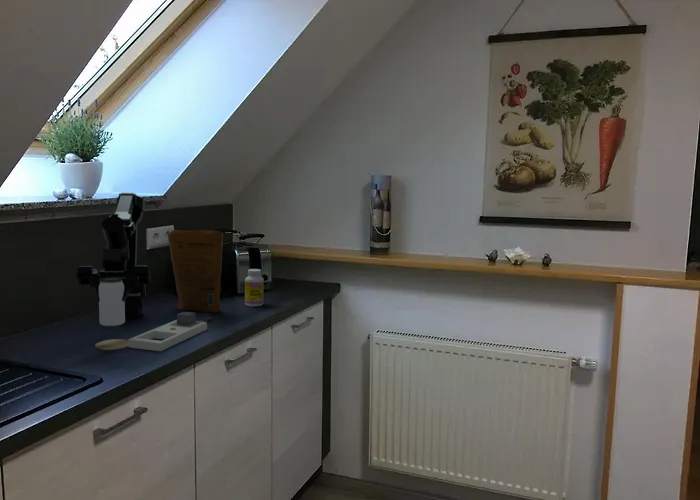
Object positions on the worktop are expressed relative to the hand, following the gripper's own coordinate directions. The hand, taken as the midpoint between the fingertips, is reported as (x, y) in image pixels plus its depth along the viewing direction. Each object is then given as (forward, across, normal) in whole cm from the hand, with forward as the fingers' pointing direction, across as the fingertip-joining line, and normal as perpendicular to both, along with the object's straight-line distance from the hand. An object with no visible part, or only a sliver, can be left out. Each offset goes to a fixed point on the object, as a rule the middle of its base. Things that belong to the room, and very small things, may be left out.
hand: (111, 300), depth 162 cm
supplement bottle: (-23, +41, +42) cm, 63 cm away
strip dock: (+4, +15, +14) cm, 20 cm away
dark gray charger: (-2, +19, +17) cm, 26 cm away
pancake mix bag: (-19, +21, +38) cm, 47 cm away
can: (+4, 0, +6) cm, 7 cm away
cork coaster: (+8, 0, +10) cm, 13 cm away
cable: (-6, +24, +25) cm, 35 cm away
